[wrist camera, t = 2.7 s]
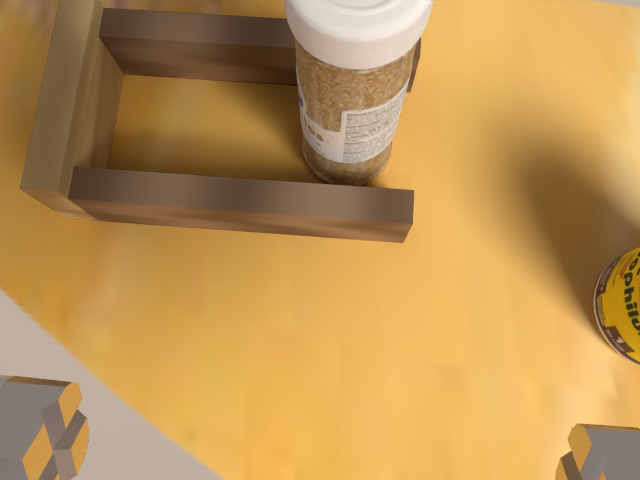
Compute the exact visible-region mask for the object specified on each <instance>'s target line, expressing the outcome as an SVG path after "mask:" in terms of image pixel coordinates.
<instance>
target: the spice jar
mask: <svg viewBox="0 0 640 480" xmlns="http://www.w3.org/2000/svg"><path fill="white" fill-rule="evenodd" d="M284 4H285V12H286V17H287V21H288V24H289V26H290V29H291V31H292V33H293V35H294V38H295V48H296V60H297V64H296V74H297V84H298V93H299V106H300V118H301V126H302V130H303V137H302V149H303V156H304V158H305V161H306V162H307V164H308V166H309V168H310V169H311V170H312V171H313V172H314V173H315V174H316V175H317V176H318V177H319V178H320V179H322V180H324V181H326V182H327V183H329V184H332V185H346V186H360V185H362V184H364V183H367V182H369V181H371V180H372V179H374V178H376V177H377V176H378V175H379V174H380V173H381V172H382V171H383V170H384V169H385V167H386V165H387V162H388V160H389V158H390V155H391V149H392V138H393V136H394V134H395V131H396V128H397V125H398V121H399V117H400V113H401V110H402V106H403V102H404V98H405V94H406V91H407V87H408V83H409V79H410V75H411V70H412V61H413V56H414V53H415V48H416V44H417V41H418V40H419V38H420V37H421V35H422V33H423V32H424V29H425V27H426V25H427V22H428V19H429V15H430V12H431V8H432V4H433V0H284Z"/></svg>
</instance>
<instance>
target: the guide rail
mask: <svg viewBox="0 0 640 480" xmlns="http://www.w3.org/2000/svg"><path fill="white" fill-rule="evenodd" d="M420 47H421V37H420V38H419V40H418V41H417V44H416V48H415V53H414V56H413V61H412V70H411V75H410V79H409V83H408V87H407V91H406V92H411V88H412V84H413V80H414V77H415V73H416V69H417V65H418V62H419V58H420ZM296 64H297V60H296V48H295V38H294V35H293V33H292V31H291V29H290V26H289V24H288V21H287V19H280V18H263V17H246V16H229V15H212V14H196V13H179V12H162V11H145V10H128V9H111V8H103V6H102V4H101V3H100V1H99V0H60V1H59V6H58V11H57V15H56V20H55V25H54V30H53V34H52V39H51V44H50V49H49V53H48V58H47V63H46V68H45V72H44V77H43V82H42V87H41V92H40V96H39V101H38V106H37V111H36V115H35V120H34V125H33V130H32V134H31V139H30V144H29V149H28V153H27V158H26V163H25V168H24V172H23V177H22V182H21V187H20V189H21V190H22V191H24V192H26V193H27V194H29V195H30V196H32V197H33V198H35V199H37V200H38V201H40V202H41V203H43V204H44V205H46V206H48V207H49V208H51V209H52V210H54V211H55V212H57V213H59V214H60V215H62V216H63V217H65V218H67V219H81V220H95V221H109V222H122V223H136V224H150V225H164V226H177V227H191V228H205V229H219V230H232V231H246V232H260V233H274V234H287V235H301V236H315V237H329V238H342V239H356V240H370V241H384V242H397V243H403V242H404V240H405V238H406V236H407V234H408V232H409V230H410V228H411V226H412V224H413V206H414V190H403V189H389V188H375V187H360V186H346V185H331V184H317V183H303V182H288V181H274V180H259V179H245V178H231V177H216V176H202V175H187V174H173V173H158V172H144V171H130V170H115V169H107V167H108V161H109V156H110V150H111V144H112V138H113V133H114V127H115V121H116V115H117V110H118V104H119V98H120V93H121V87H122V81H123V75H124V74H127V75H143V76H158V77H174V78H190V79H206V80H221V81H237V82H253V83H269V84H284V85H298V84H297V74H296Z"/></svg>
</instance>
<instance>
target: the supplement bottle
mask: <svg viewBox="0 0 640 480" xmlns="http://www.w3.org/2000/svg"><path fill="white" fill-rule="evenodd" d="M593 307H594V314H595V318H596V321H597V324H598V327H599V329H600V331H601V333H602V334H603V336H604V338H605V339H606V341H607V342H608V343H609V344H610V346H611V347H612V348H613V349H614V350H615V351H616V352H618V353H619V354H620V355H621V356H623V357H624V358H626V359H628V360H629V361H631V362H633V363H635V364H638V365H640V247H639V248H636V249H634V250H632V251H630V252H627V253H625V254H623V255H622V256H620V257H618V258H617V259H615V260H614V261H613V262H611V263H610V264H609V265H608V266H607V267H606V268H605V270H604V271H603V272H602V274H601V275H600V277H599V279H598V282H597V284H596V287H595V291H594V298H593Z"/></svg>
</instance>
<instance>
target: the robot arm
mask: <svg viewBox="0 0 640 480" xmlns="http://www.w3.org/2000/svg"><path fill="white" fill-rule="evenodd" d="M81 400H82V396H81V392H80V388H79V385H78V384H76V383H73V382H66V381H56V380H47V379H38V378H29V377H19V376H5V375H0V480H71V479H72V478H74V477H75V476H76V475H77V474H78V472H79V470H80V467H81V465H82V463H83V461H84V458H85V454H86V450H87V446H88V441H89V439H88V438H89V436H88V435H89V427H88V422H87V418H86V417H85V416H84V415H83V414H82V413H81V412H80V411H79V410H78V409H77V408H78V406H79V404H80V402H81ZM568 442H569V445H570V447H571V450H572V451H570V452H569V453H567V454H566V455H564V456H563V457H561V458H560V461H559V464H558V467H557V470H556V477H555V480H640V429H639V428H634V427H620V426H607V425H593V424H579V423H578V424H576V425H575V426H574V427H573V428H572V430H571V432H570V435H569V437H568Z"/></svg>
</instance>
